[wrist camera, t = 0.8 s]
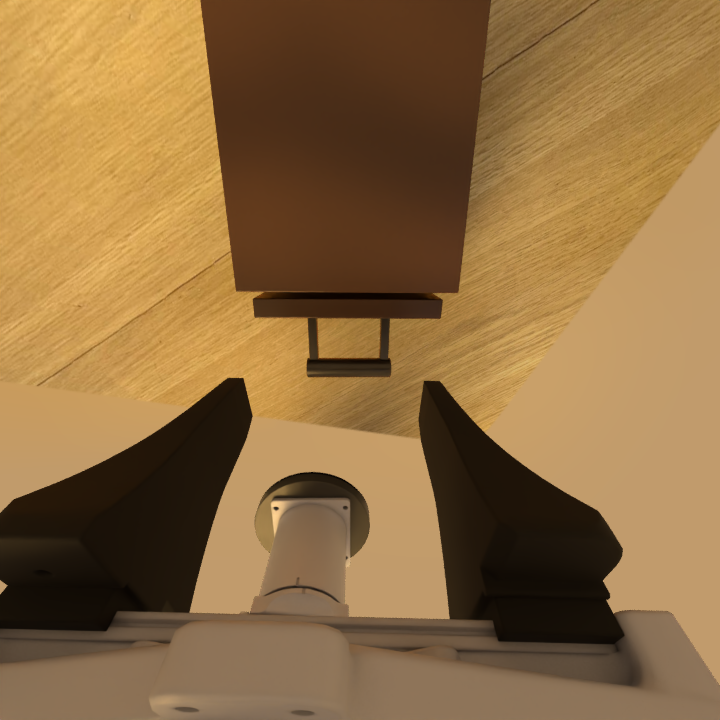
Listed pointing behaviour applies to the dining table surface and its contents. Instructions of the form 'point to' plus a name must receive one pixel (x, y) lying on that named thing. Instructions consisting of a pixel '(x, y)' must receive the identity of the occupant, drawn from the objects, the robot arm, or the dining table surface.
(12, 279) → the dining table surface
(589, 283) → the dining table surface
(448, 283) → the brown drawer cabinet
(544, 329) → the dining table surface
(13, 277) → the dining table surface
